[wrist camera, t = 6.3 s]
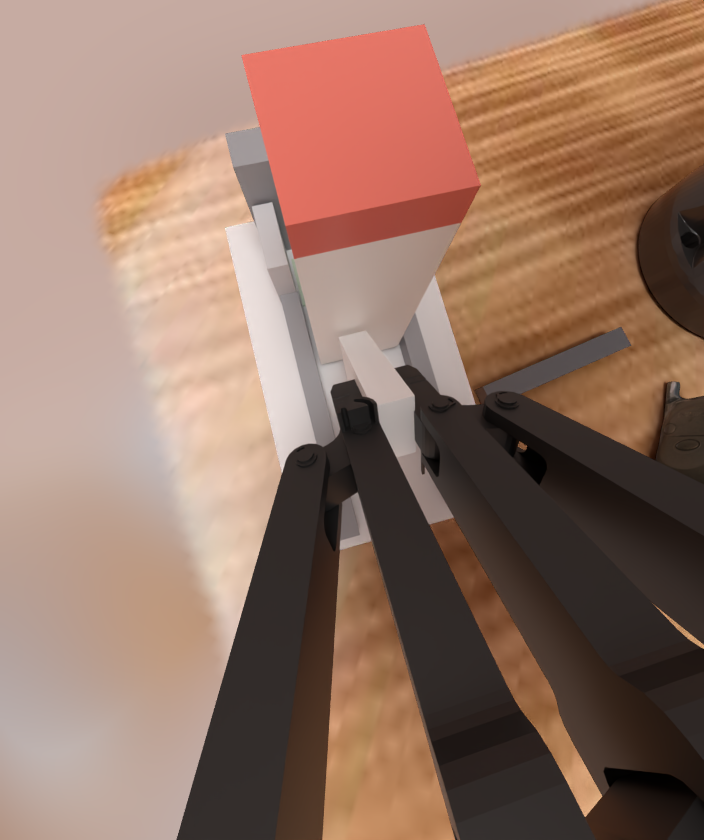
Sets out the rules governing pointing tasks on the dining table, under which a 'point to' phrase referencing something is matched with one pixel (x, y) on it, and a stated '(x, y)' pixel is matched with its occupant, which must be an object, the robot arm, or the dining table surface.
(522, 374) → the gray rectangular bar
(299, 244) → the toggle
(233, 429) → the dining table surface
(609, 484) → the robot arm
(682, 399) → the mobile phone
